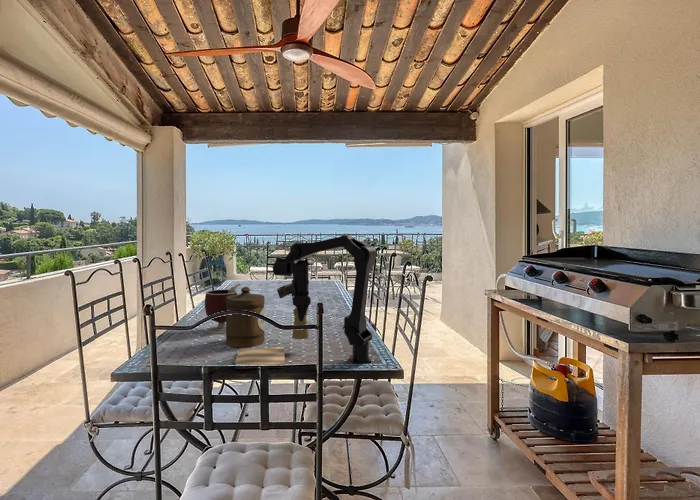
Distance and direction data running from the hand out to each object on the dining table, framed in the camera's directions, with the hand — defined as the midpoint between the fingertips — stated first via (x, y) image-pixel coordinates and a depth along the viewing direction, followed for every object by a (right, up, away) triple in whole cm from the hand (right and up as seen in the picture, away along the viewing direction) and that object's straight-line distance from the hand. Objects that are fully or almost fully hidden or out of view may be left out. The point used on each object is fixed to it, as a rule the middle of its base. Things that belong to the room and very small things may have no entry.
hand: (300, 319), depth 153 cm
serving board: (-13, -12, -9) cm, 20 cm away
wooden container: (-23, -11, +12) cm, 28 cm away
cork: (0, -7, 0) cm, 7 cm away
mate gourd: (-37, -10, +30) cm, 49 cm away
